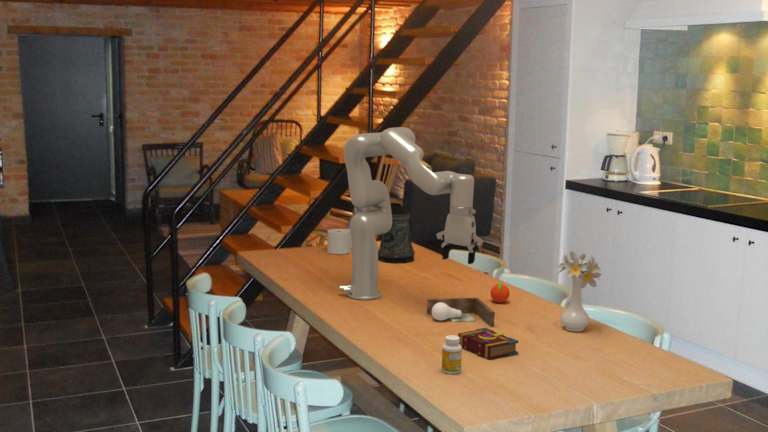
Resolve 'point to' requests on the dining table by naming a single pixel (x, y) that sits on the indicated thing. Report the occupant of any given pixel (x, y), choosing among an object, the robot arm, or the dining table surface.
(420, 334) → the dining table surface
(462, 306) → the corner fence
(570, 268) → the flower vase
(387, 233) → the beer stein
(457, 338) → the supplement bottle
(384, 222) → the robot arm
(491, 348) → the decorative book
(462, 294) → the dining table surface
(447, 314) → the lightbulb
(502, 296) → the clementine
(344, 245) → the toilet tissue
